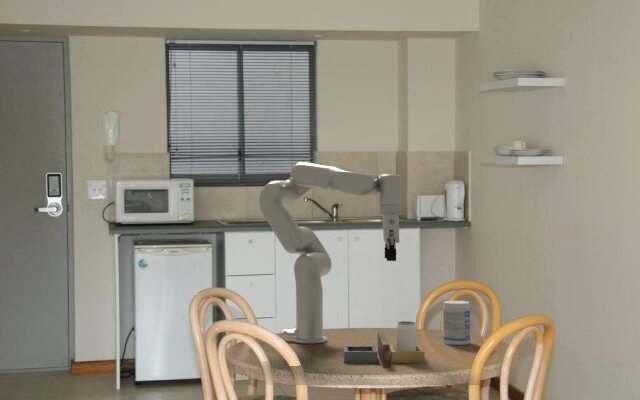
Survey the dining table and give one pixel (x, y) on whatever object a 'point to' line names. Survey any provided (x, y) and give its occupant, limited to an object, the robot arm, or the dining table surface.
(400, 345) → the can
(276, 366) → the dining table surface
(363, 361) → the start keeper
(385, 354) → the brown wooden plank
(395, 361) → the brass keeper
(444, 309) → the supplement tub
